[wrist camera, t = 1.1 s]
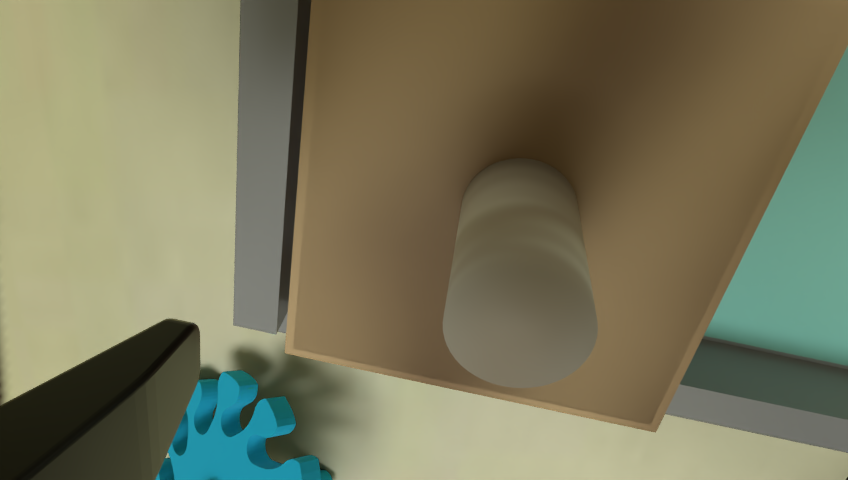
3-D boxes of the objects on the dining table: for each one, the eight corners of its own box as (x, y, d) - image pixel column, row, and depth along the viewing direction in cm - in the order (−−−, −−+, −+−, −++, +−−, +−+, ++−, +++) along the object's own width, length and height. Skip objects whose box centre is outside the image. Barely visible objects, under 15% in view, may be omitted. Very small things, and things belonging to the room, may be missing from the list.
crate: (772, -42, 15) (1029, 64, 8) (627, 312, 21) (692, 585, 13) (374, -121, 16) (231, -95, 8) (332, 250, 21) (223, 483, 13)
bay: (1164, -58, 15) (1414, -23, 11) (860, 384, 23) (940, 509, 18) (320, -222, 16) (246, -250, 11) (286, 264, 23) (232, 358, 19)
